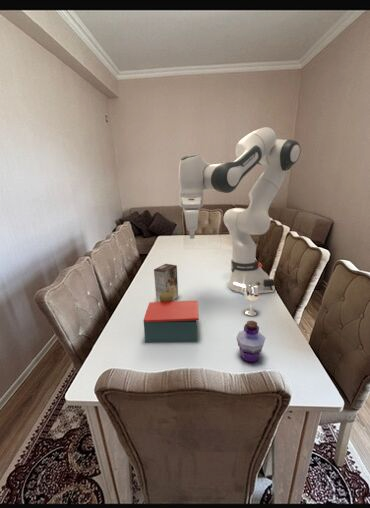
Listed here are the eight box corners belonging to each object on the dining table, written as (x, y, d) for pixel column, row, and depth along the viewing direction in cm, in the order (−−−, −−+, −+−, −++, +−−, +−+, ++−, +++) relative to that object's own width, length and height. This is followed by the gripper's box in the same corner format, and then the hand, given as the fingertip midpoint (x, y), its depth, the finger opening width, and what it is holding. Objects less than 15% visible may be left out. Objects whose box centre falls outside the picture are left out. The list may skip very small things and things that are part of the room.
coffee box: (167, 294, 120) (165, 263, 116) (178, 297, 117) (177, 265, 112) (155, 302, 113) (153, 269, 108) (167, 305, 110) (165, 271, 105)
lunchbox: (196, 321, 97) (195, 303, 95) (196, 341, 85) (196, 321, 83) (150, 322, 97) (149, 304, 95) (145, 342, 85) (143, 322, 83)
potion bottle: (246, 344, 83) (248, 312, 79) (270, 357, 77) (273, 323, 73) (229, 356, 78) (230, 322, 74) (253, 371, 71) (255, 335, 68)
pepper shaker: (173, 324, 95) (171, 298, 92) (157, 322, 97) (156, 296, 93) (176, 315, 101) (175, 291, 98) (162, 314, 102) (160, 290, 99)
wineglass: (259, 316, 99) (261, 288, 95) (245, 316, 99) (246, 289, 95) (255, 309, 104) (257, 282, 101) (241, 309, 104) (243, 283, 101)
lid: (197, 302, 94) (197, 300, 94) (198, 320, 82) (198, 318, 82) (149, 304, 95) (149, 302, 95) (143, 322, 83) (143, 320, 83)
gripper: (183, 199, 103) (184, 232, 107) (182, 204, 83) (183, 244, 87) (199, 199, 103) (199, 232, 107) (201, 203, 83) (201, 244, 87)
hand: (192, 237), depth 97 cm, fingers closed
